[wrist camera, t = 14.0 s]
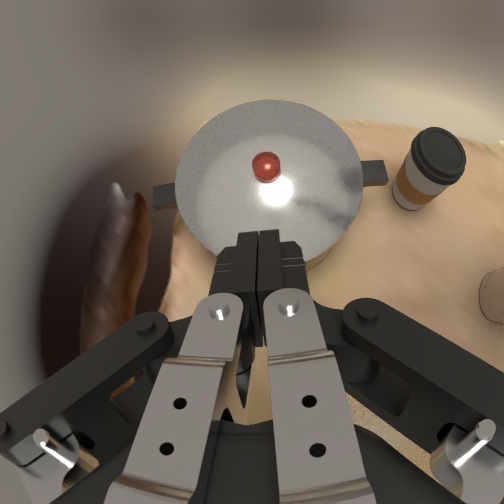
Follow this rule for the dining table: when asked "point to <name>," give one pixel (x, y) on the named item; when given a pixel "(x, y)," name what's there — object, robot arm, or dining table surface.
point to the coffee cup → (429, 168)
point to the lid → (269, 177)
